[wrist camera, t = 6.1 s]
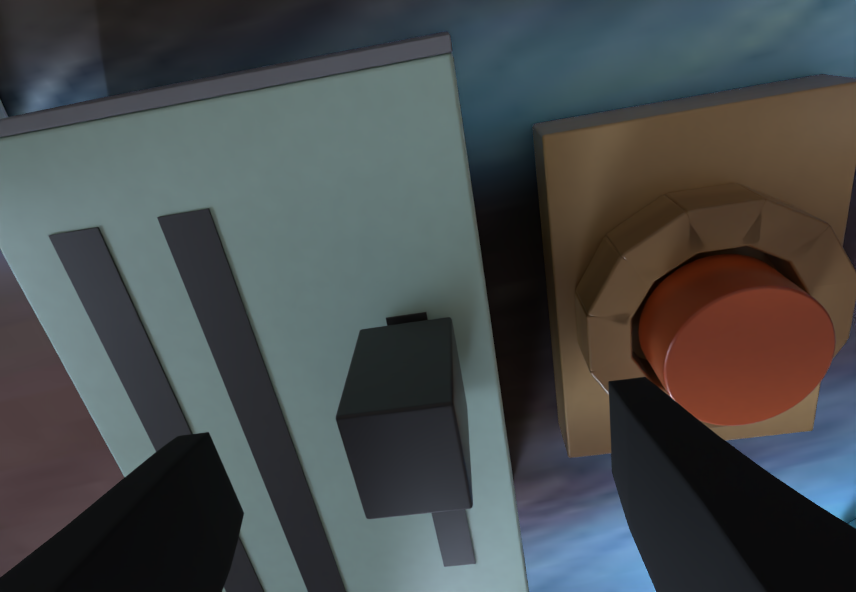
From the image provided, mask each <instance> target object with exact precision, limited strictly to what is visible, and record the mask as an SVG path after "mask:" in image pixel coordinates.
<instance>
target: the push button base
mask: <svg viewBox="0 0 856 592" xmlns="http://www.w3.org/2000/svg"><path fill="white" fill-rule="evenodd" d="M532 130H533V141H534V153H535V164H536V175H537V186H538V197H539V209H540V220H541V231H542V242H543V254H544V265H545V276H546V287H547V299H548V310H549V321H550V332H551V344H552V355H553V366H554V377H555V389H556V400H557V411H558V422H559V426H560V430H561V433H562V437H563V440H564V444H565V447H566V451H567V454H568V457H569V458H573V457H582V456H591V455H600V454H609V453H611V433H610V408H609V384H608V381H615V380H623V379H631V378H639V377H646V378H647V379H649V380H650V381H651V382H653V383H654V384H655V385H656V386H658V387H659V388H660V389H661V390H662V391H664V392H665V393H666V394H667V395H668V393H667V391H666V390H665V388H664V387H663V385H662V383H661V382H660V380H659V378H658V377H657V375H656V373H655V372H654V370H653V368H652V367H651V365H650V363H649V362H648V360H647V359H646V357H645V355H644V353H643V351H642V349H641V345H640V342H639V333H638V331H639V322H640V317H641V313H642V311H643V308H644V306H645V304H646V302H647V300H648V298H649V297H650V295H651V294H652V292H653V291H654V290H655V288H656V287H657V286H658V285H659V284H660V283H661V282H662V281H663V280H664V279H665V278H666V277H668V276H669V275H670V274H672V273H673V272H674V271H676V270H677V269H679V268H681V267H682V266H684V265H686V264H688V263H691V262H693V261H695V260H698V259H701V258H704V257H708V256H713V255H721V254H739V255H745V256H750V257H753V258H756V259H759V260H761V261H763V262H765V263H767V264H768V265H770V266H771V267H772V268H774V269H775V270H777V271H778V272H779V273H781V274H782V275H783V276H785V277H786V278H787V279H789V280H790V281H792V282H793V283H794V284H796V285H797V286H798V287H800V288H801V289H802V290H804V291H805V292H806V293H808V294H809V295H811V296H812V297H813V298H815V299H816V300H817V301H818V302H819V303H820V304H821V305H822V306H823V307H824V308H825V310H826V311H827V312H828V314H829V316H830V318H831V320H832V322H833V326H834V330H835V337H836V344H835V352H834V356H833V358H834V357H835V355H836V354H837V353H838V352H839V351H840V349H841V348H842V347H843V346H844V345H845V343H846V342H847V339H848V338H849V335H850V329H851V324H852V318H853V313H854V307H855V302H856V270H855V268H854V267H853V265H852V263H851V261H850V259H849V258H848V256H847V254H846V252H845V250H844V249H843V242H844V236H845V230H846V223H847V217H848V211H849V205H850V199H851V193H852V187H853V180H854V174H855V168H856V78H851V77H843V76H835V75H827V74H819V75H813V76H807V77H801V78H796V79H790V80H784V81H778V82H773V83H767V84H761V85H755V86H749V87H744V88H738V89H732V90H726V91H720V92H715V93H709V94H703V95H697V96H692V97H686V98H680V99H674V100H668V101H663V102H657V103H651V104H645V105H639V106H634V107H628V108H622V109H616V110H610V111H605V112H599V113H593V114H587V115H582V116H576V117H570V118H564V119H558V120H553V121H547V122H541V123H535V124H533V126H532ZM820 383H821V382H820ZM820 383H819V384H818V386H817V387H816V388H815V389H814V390H813V391H812V392H811V393H810V394H809V395H808V396H807V397H806V398H804V399H803V400H802V401H801V402H799V403H798V404H797V405H795V406H794V407H792V408H790V409H789V410H787V411H785V412H784V413H781V414H779V415H777V416H775V417H773V418H770V419H767V420H764V421H761V422H757V423H753V424H747V425H738V426H722V425H715V424H710V423H706V422H703V421H701V422H702V423H703V424H704V425H706V426H707V427H708V428H710V429H711V430H712V431H713V432H715V433H716V434H717V435H719V436H720V437H721V438H722V439H724V440H734V439H743V438H751V437H760V436H769V435H778V434H787V433H796V432H805V431H812V430H813V426H814V420H815V414H816V408H817V401H818V395H819V389H820ZM699 421H700V420H699Z"/></svg>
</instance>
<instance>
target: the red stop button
mask: <svg viewBox="0 0 856 592" xmlns="http://www.w3.org/2000/svg"><path fill="white" fill-rule="evenodd" d="M638 333H639V342H640V345H641V349H642V351H643V353H644V355H645V357H646V359H647V360H648V362H649V363H650V365H651V367H652V368H653V370H654V372H655V373H656V375H657V377H658V378H659V380H660V382H661V383H662V385H663V387H664V388H665V390H666V391H667V393H668V395H669V396H670V397H671V398H672V399H673V400H675V401H676V402H677V403H678V404H680V405H681V406H682V407H683V408H684V409H686V410H687V411H688V412H689V413H691V414H692V415H693V416H694V417H696V418H697V419H698V420H700V421H703V422H706V423H710V424H715V425H722V426H738V425H747V424H753V423H757V422H761V421H764V420H767V419H770V418H773V417H775V416H777V415H779V414H781V413H784V412H785V411H787V410H789V409H790V408H792V407H794V406H795V405H797V404H798V403H799V402H801V401H802V400H803V399H804V398H806V397H807V396H808V395H809V394H810V393H811V392H812V391H813V390H814V389H815V388H816V387H817V386H818V384H819V383H820V382H821V380H822V379H823V378H824V376H825V374H826V373H827V371H828V369H829V367H830V365H831V362H832V360H833V356H834V352H835V344H836V337H835V330H834V326H833V322H832V320H831V318H830V316H829V314H828V312H827V311H826V310H825V308H824V307H823V306H822V305H821V304H820V303H819V302H818V301H817V300H816V299H815V298H813V297H812V296H811V295H809V294H808V293H806V292H805V291H804V290H802V289H801V288H800V287H798V286H797V285H796V284H794V283H793V282H792V281H790V280H789V279H787V278H786V277H785V276H783V275H782V274H781V273H779V272H778V271H777V270H775V269H774V268H772V267H771V266H770V265H768V264H767V263H765V262H763V261H761V260H759V259H756V258H753V257H750V256H745V255H739V254H721V255H713V256H708V257H704V258H701V259H698V260H695V261H693V262H691V263H688V264H686V265H684V266H682V267H681V268H679V269H677V270H676V271H674V272H673V273H672V274H670V275H669V276H668V277H666V278H665V279H664V280H663V281H662V282H661V283H660V284H659V285H658V286H657V287H656V288H655V290H654V291H653V292H652V294H651V295H650V297H649V298H648V300H647V302H646V304H645V306H644V308H643V311H642V313H641V317H640V322H639V331H638Z"/></svg>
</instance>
